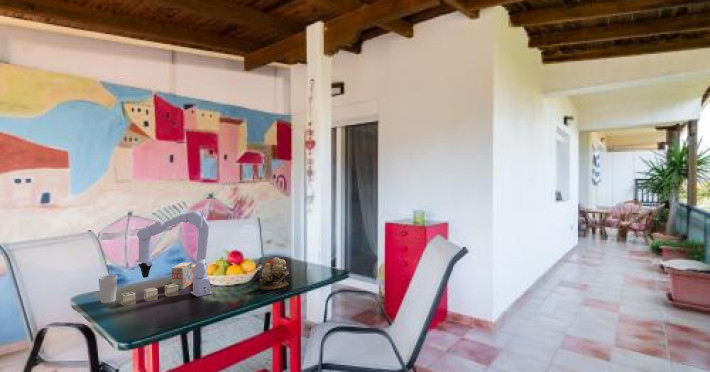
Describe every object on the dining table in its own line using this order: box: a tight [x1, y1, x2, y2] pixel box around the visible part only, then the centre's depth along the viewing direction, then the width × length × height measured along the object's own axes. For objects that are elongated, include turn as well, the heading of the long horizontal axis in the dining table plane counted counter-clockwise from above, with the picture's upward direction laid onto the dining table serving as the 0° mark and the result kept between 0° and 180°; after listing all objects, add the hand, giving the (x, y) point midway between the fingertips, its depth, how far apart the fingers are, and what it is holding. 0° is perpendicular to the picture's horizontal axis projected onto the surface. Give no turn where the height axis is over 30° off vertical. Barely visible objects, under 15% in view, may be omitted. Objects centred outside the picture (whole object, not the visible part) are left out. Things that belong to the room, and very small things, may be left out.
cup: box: [98, 274, 118, 304], centre depth 186 cm, size 8×8×12 cm
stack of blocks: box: [171, 261, 196, 290], centre depth 216 cm, size 21×6×12 cm, turn 0°
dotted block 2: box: [164, 283, 179, 298], centre depth 196 cm, size 5×5×5 cm
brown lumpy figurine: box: [259, 256, 290, 291], centre depth 211 cm, size 18×12×17 cm, turn 134°
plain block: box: [143, 287, 159, 302], centre depth 189 cm, size 5×5×5 cm
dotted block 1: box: [120, 291, 137, 307], centre depth 182 cm, size 5×5×5 cm
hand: (145, 277), depth 192 cm, fingers closed
